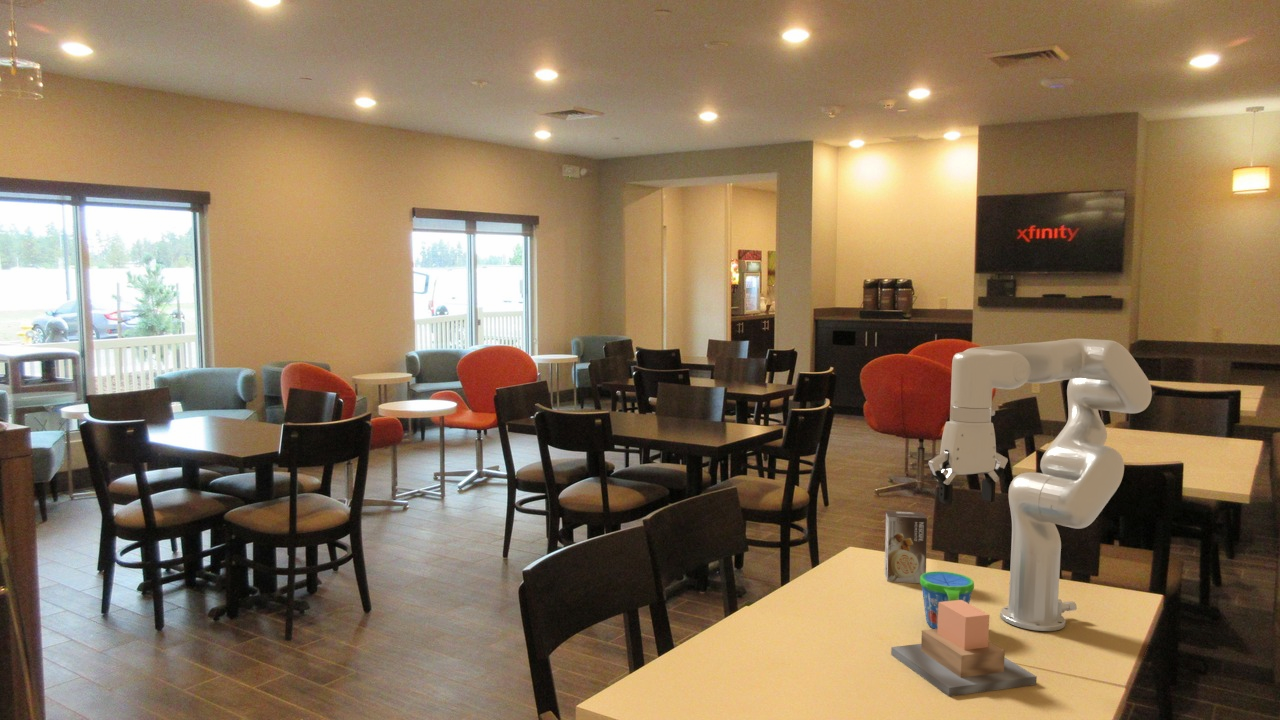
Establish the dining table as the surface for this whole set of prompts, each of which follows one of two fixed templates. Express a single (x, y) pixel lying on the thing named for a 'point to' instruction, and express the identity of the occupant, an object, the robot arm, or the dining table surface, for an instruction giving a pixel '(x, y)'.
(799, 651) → the dining table surface
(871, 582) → the dining table surface
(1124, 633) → the dining table surface
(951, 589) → the snack cup
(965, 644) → the brick
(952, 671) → the base
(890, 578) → the coffee box
